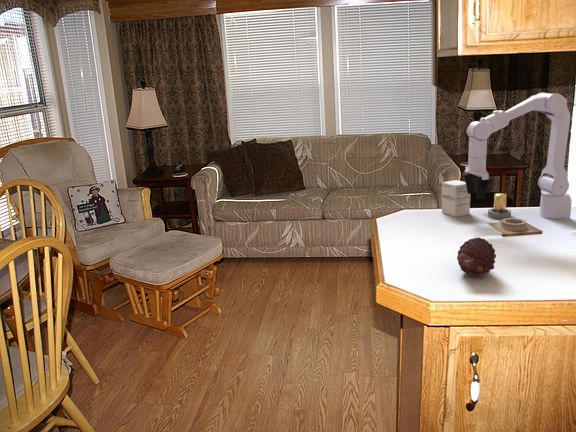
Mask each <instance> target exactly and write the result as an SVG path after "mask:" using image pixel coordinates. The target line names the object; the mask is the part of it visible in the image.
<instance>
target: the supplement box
mask: <svg viewBox="0 0 576 432" xmlns="http://www.w3.org/2000/svg"><path fill="white" fill-rule="evenodd" d="M441 193H442V195H441V196H442V200H441V213H442V214H446V215H448V216H450V217H460V216H466V215H469V214H470V213H471V212H470V208H471V194H468V192H467V187H466V183H465V181H462V180H459V179H454V180H448V181H443V182H442V192H441Z"/></svg>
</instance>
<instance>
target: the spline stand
mask: <svg viewBox="0 0 576 432" xmlns="http://www.w3.org/2000/svg"><path fill="white" fill-rule="evenodd" d="M482 215H483V216H484V217H486V218H488V219H489V220H491V221H494V222H495V221H502V219H506V218H516V216H514V215H512V210H511V209H508V208H506V212H505V213H496V212H494V207H492V208H489V209H488V210H487V213H482Z"/></svg>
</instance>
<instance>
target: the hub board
mask: <svg viewBox="0 0 576 432" xmlns="http://www.w3.org/2000/svg"><path fill="white" fill-rule="evenodd" d="M486 224H487V225H489V226H490V227H492V228H493V229H495V230H497V231H498V232H499V233H500V234H499V235H500V236H502V237H503V238H508V237H522V236H535V235H536V236H537V235H543V230H541V229H539V228H537V227H535V226H534V225H532V224H530V223H528V222H527V220H525V219H522V218H517V217H515V218H506V219H502V220H500V221H496V222H495V221H494V222H486Z"/></svg>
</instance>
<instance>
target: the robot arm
mask: <svg viewBox="0 0 576 432" xmlns="http://www.w3.org/2000/svg"><path fill="white" fill-rule="evenodd" d="M532 111H537V112H540V113H542V114H545V116H547V118H548V119H550V121H551V126H550V133H549V143H548V150H547V151H548V152H547V160H546V166H545V167H544V168H543V169H541V175H540V176H539V178H538V181H537V184H538V187H539V189H540V193H541V194H540V203H539V217H542V218H543V219H551V220H553V219H554V220H556V219H562V218H564V219H566V220H568V221H571V220H572V218H571V212H572V198H571V197H572V196H571V195H570V194H568V193H567V192H568V190H569V187H570V182H569V179H568V177H569V175H568V174H569V173H567V171H566V169H565V162H566V161H565V160H566V153H567V145H568V139H569V138H568V137H569V130H570V123H571V113H570V110H569V108H568V99H567V98H566V97H564V96H563V95H562V94H560V93H548V92H538V93H537V94H534V95H531V96H530V97H528V98H527V99H526V100H524V101H521V102H520V103H518V104H516V105H513V106H512V107H511V108H509V109H507V110H505V111H504V110H502V109H501V110H497V109H495V110H493V111H492V114H489V115H487V116H486V117H481V118H480V119H479V121H478V120H477V121H476V120H475V121H472V122H470V124H469V125H468V127H467V129H466V130H465V132H466V135H467V136H468V158H467V160H468V161H467V163H468V164H467V166H465V167H464V168H465V170H464V173H462V175H461V176H462V177H463V180H464V182H465V183H466V187H467V192H468V194H470V195H472V194H473V195H476V199H477V200H483V199H485V195H486V192H487V189H488V187H489V185H490V184H491V182H492V179H491V178H489V177H490V175H489V174H490V173H488V171H487V169H486V166H487V151H488V150H487V149H488V148H487V147H488V139H489V137H490V135H491V134H493V133H495V132H497V131H499V130H501V129H503V128H505V127H507V126H508V125H509V124H510V121H512V120H514V119H516V118H518V117H520V116H523V115H525V114H528V113H529V112H532ZM475 193H476V194H475Z"/></svg>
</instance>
